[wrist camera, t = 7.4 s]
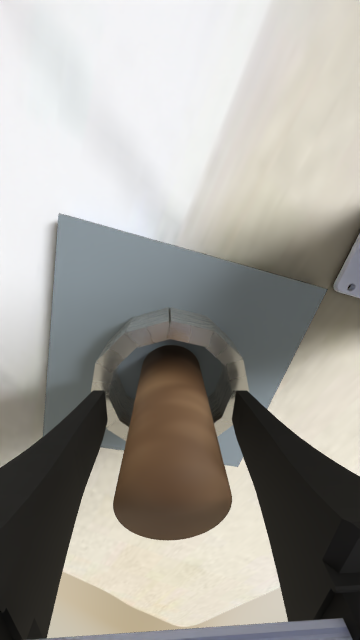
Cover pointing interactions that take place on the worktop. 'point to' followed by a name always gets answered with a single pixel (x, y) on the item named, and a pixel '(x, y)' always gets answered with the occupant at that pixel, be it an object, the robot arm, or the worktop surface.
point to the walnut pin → (171, 453)
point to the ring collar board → (150, 284)
